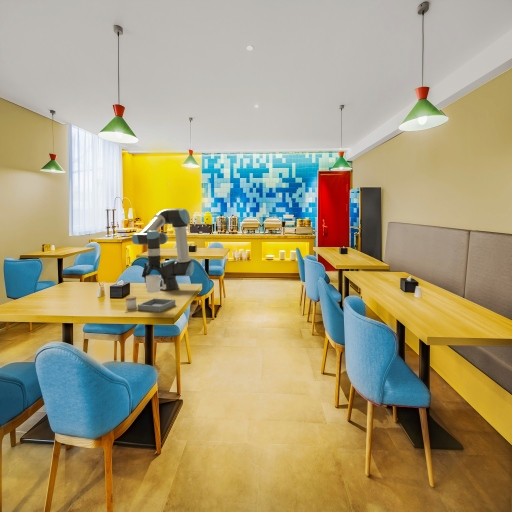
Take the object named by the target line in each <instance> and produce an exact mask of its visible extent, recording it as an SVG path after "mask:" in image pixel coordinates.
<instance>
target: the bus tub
mask: <svg viewBox="0 0 512 512" xmlns="http://www.w3.org/2000/svg"><path fill="white" fill-rule="evenodd" d="M175 306H176V299H167V298H158V297H157V298H151V299H149V300H146V301H144V302H142V303H139V304H137V310H138V311H140V312H141V311H144V312H150V313H151V312H152V313H153V312H154V313H162V312H165V311H166V310H168V309H170V308H172V307H175Z"/></svg>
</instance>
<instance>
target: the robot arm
mask: <svg viewBox="0 0 512 512" xmlns="http://www.w3.org/2000/svg"><path fill="white" fill-rule="evenodd" d="M190 217H191V216H190V212H189V211H188V210H187V209H186V208H165V209H162V210H160V211H159V212H157V213H156V214H154V216H153V217H152V220H151V221H150V222H149V223H148V224H147V225H145V227H144V228H143V229H142V230H141V231H140V232H138V233H137V232H136V233H133V234H132V236H131V242H132V243H133V245H138V246H139V245H140V246H141V245H143V246H144V245H147V255H148V256H147V261H148V262H145V263H144V267H143V270H142V274H141V278H144V283H145V284H146V276H148V275H151V273H152V271H153V270H154V271H158V273H159V276H160V278H163V279H162V280H160V287H163V289H160V291H166V292H167V291H174V290H175V291H176V290H177V289H179V287H180V286H179V284H178V281H177V277H191V276H192V275H193V273H194V270H195V263H194V261H192V259H191V258H190V256H189V246H188V245H189V243H188V235H187V227H189V226H188V225H189V224H190V220H191V219H190ZM164 225H165V226H166V225H172V226H171V227H172V228H173V229H174V234H175V245H176V246H175V247H176V254H177V258H176V260H175V259H168V260H164V261H161V245H165V244H166V243H167V241H168V240H169V239H168V235H167V234H166V233H164V232H160V231H159V229H160V228H161V227H163V226H164Z"/></svg>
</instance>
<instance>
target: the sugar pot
mask: <svg viewBox="0 0 512 512" xmlns="http://www.w3.org/2000/svg"><path fill="white" fill-rule="evenodd" d="M125 302H126V310H135V309H138V305H137V296H133V295H132V296H127V297H125Z"/></svg>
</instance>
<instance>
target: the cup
mask: <svg viewBox="0 0 512 512" xmlns="http://www.w3.org/2000/svg"><path fill="white" fill-rule="evenodd" d="M162 279H163V278H161V277H160V274H150V275H148V276H146V283H145V289H146V292H147V293H149V294H154V293H159V292H161V290H160V289H163V287H160V282H161V280H162Z"/></svg>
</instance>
